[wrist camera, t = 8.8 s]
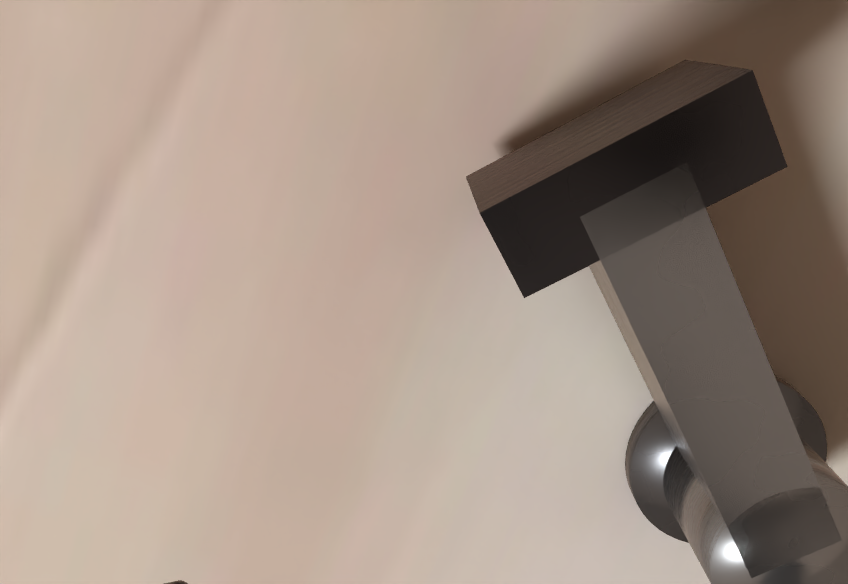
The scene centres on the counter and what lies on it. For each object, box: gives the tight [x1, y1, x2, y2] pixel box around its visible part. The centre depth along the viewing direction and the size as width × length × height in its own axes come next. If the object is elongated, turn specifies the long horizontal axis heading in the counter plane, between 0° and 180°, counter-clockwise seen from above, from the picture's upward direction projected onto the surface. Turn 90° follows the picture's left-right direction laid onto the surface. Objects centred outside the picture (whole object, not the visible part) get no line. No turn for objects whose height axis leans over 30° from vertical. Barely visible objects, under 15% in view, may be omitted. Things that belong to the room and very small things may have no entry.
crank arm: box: [466, 60, 848, 584], centre depth 16 cm, size 12×5×3 cm, turn 28°
